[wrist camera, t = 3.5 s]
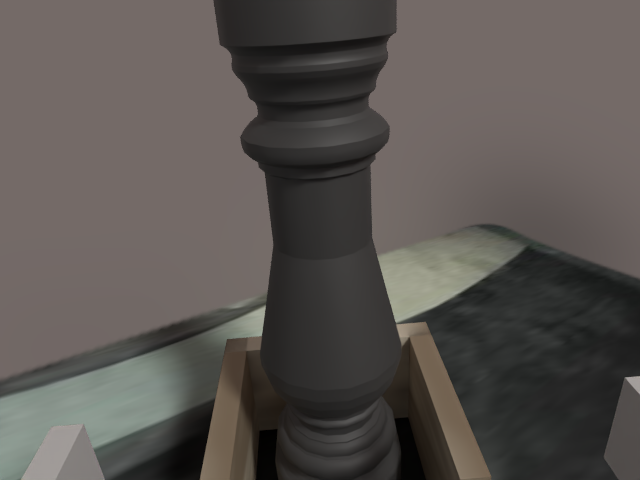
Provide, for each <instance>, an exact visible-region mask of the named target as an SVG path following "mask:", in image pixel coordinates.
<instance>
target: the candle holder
mask: <svg viewBox="0 0 640 480" xmlns="http://www.w3.org/2000/svg"><path fill="white" fill-rule="evenodd" d="M214 7H215V14H216V20H217V27H218V35H219V41H220V45H221V46H223V47H225V48H226V49H227V50H228V51H229V52H230V53H231V56H232V70H233V72H234V73H235V75H236V76H237V77H238V78H239V79H240V80H241V81H242V82H243V84H244V85H245V87H246V89H247V92H248V96H249V98H250V99H251V100H253V101H254V102H255V103H256V105H257V109H258V115H257V117H256V118H254V119H253V120H252V121H251V122H250V123H249V124H248V126H247V127H246V128H245V129H244V131H243V133H242V135H241V137H240V138H241V144H242V148H243V150H244V152H245V153H246V154H247V155H248V156H249V157H251V158H252V159H253V160H255V161H257V162H258V164H259V168H260V169H262V170H263V171H264V172H265V178H266V186H267V195H268V202H269V211H270V219H271V227H272V235H273V244H274V245H273V253H272V261H271V270H270V277H269V286H268V294H267V302H266V310H265V318H264V325H263V333H262V340H261V348H260V358H261V365H262V367H263V369H264V371H265V373H266V375H267V377H268V379H269V381H270V383H271V385H272V387H273V389H274V391H275V392H276V393H277V394H278V395H279V396H280V397H281V398H282V399H283V400H284V401H286V402H287V404H286V405H285V407H284V409H283V410H282V412H281V414H280V415H279V418H278V431H277V444H276V457H275V462H276V469H277V475H278V480H401V460H402V452H401V447H400V443H399V438H398V433H397V431H396V425H395V420H394V415H393V411H392V409H391V407H390V406H389V405H388V404H387V402H386V401H385V400H384V398H383V397H382V395H383V394H384V393H385V392H386V390H387V389H388V388H389V387H390V385H391V384H392V381H393V378H394V376H395V373H396V370H397V367H398V364H399V361H400V359H401V345H402V344H401V341H400V337H399V333H398V330H397V326H396V322H395V319H394V315H393V312H392V308H391V305H390V301H389V298H388V294H387V291H386V287H385V283H384V280H383V276H382V272H381V269H380V265H379V261H378V258H377V254H376V250H375V247H374V243H373V239H372V216H371V176H370V175H371V172H370V164H371V163H372V162H373V161H374V160H375V154H376V153H377V152H378V151H380V150H381V149H382V147H383V146H384V145H385V144H386V143H387V142H388V139H389V125H388V123H387V122H386V121H385V119H384V118H383V117H382V116H381V115H380V114H378V113H377V112H376V111H374V110H373V109H371V108H370V107H369V106H368V98H369V95H370V93H371V92H372V91H374V89H375V87H376V80H377V77H378V74H379V72H380V71H381V69H382V68H383V67H384V65H385V63H386V61H387V59H388V52H387V48H386V45H387V41H388V39H389V38H390V36H391V35H393V34H394V33H395V32H396V0H214Z"/></svg>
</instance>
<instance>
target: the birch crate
mask: <svg viewBox="0 0 640 480" xmlns="http://www.w3.org/2000/svg"><path fill="white" fill-rule="evenodd" d="M396 326H397V330H398V333H399V337H400V341H401V344H402V345H401V359H400V361H399V364H398V367H397V370H396V373H395V376H394V378H393V381H392V384H391V385H390V387H389V388H388V389H387V390H386V392H385V393H384V394H383V395H382V397H383V398H384V400H385V401H386V402H387V404H388V405H389V406H390V407H391V409H392V411H393V415H394V418H404V417H408V418H409V422H410V425H411V429H412V433H413V436H414V440H415V443H416V447H417V450H418V454H419V457H420V461H421V464H422V468H423V471H424V475H425V478H426V480H491V475H490V473H489V470H488V468H487V466H486V463H485V461H484V459H483V456H482V454H481V452H480V449H479V447H478V444H477V442H476V440H475V437H474V435H473V433H472V430H471V428H470V426H469V423H468V421H467V419H466V416H465V414H464V411H463V409H462V407H461V404H460V402H459V400H458V397H457V395H456V393H455V390H454V388H453V385H452V383H451V381H450V378H449V376H448V374H447V371H446V369H445V367H444V364H443V362H442V360H441V357H440V355H439V352H438V350H437V348H436V345H435V343H434V341H433V338H432V336H431V334H430V331H429V329H428V327H427V324H426V322H421V323H409V324H398V325H396ZM261 340H262V336H260V337H249V338H237V339H227V342H226V347H225V353H224V358H223V363H222V368H221V373H220V378H219V384H218V389H217V394H216V399H215V404H214V409H213V414H212V420H211V425H210V430H209V435H208V440H207V445H206V451H205V456H204V461H203V466H202V471H201V476H200V480H256V472H257V458H258V445H259V432H260V431H261V430H272V429H278V418H279V415H280V414H281V412H282V410H283V409H284V407H285V405H286V404H287V402H286V401H284V400H283V399H282V398H281V397H280V396H279V395H278V394H277V393H276V392H275V391H274V389H273V387H272V385H271V383H270V381H269V379H268V377H267V375H266V373H265V371H264V369H263V367H262V365H261V358H260V348H261Z"/></svg>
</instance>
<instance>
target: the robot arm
mask: <svg viewBox="0 0 640 480" xmlns="http://www.w3.org/2000/svg"><path fill="white" fill-rule="evenodd" d="M604 459H605V460H606V461H607V463H608V464H609V466H610V467H611V469H612V470H613V472H614V473H615V475H616V476H617V478H618V479H619V480H640V376H638V377H627V378H625V379H624V383H623V387H622V390H621V394H620V398H619V402H618V405H617V409H616V413H615V417H614V421H613V424H612V428H611V432H610V436H609V439H608V443H607V447H606V451H605V455H604ZM21 480H105V479H104V476H103V474H102V471H101V469H100V466H99V463H98V461H97V458H96V455H95V453H94V450H93V447H92V445H91V442H90V440H89V437H88V434H87V432H86V429H85V426H84V424H78V425H66V426H54V427H51V429H50V430H49V432H48V434H47V435H46V437H45V439H44V441H43V442H42V444H41V446H40V448H39V449H38V451H37V453H36V454H35V456H34V458H33V460H32V461H31V463H30V465H29V467H28V468H27V470H26V472H25V474H24V475H23V477H22V479H21Z"/></svg>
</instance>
